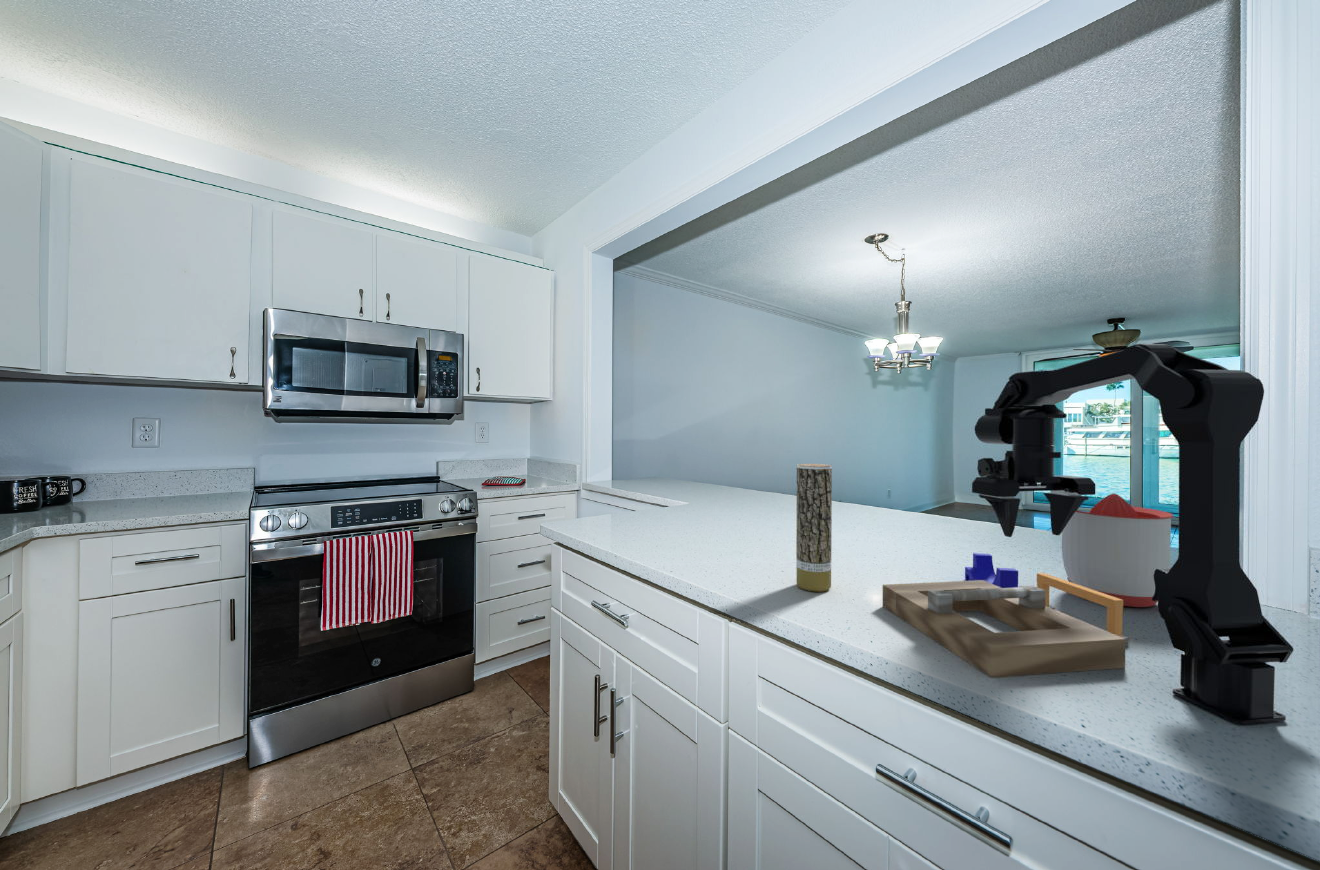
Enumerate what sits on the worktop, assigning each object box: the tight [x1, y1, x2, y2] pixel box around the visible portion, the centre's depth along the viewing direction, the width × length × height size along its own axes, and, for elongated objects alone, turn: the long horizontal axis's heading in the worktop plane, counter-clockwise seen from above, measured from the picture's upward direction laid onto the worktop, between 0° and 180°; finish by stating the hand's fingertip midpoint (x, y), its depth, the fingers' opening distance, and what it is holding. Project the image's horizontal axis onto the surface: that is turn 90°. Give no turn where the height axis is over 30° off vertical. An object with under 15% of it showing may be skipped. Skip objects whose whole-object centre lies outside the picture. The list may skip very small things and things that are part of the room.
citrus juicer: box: [1061, 493, 1174, 608], centre depth 93 cm, size 16×17×20 cm
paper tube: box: [795, 463, 833, 593], centre depth 99 cm, size 7×7×25 cm
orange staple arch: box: [1036, 572, 1130, 647], centre depth 79 cm, size 14×3×7 cm, turn 7°
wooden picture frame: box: [882, 580, 1126, 678], centre depth 77 cm, size 25×20×7 cm
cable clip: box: [964, 552, 1019, 588], centre depth 97 cm, size 12×4×6 cm, turn 168°
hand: (1032, 535), depth 84 cm, fingers open, 9 cm apart
